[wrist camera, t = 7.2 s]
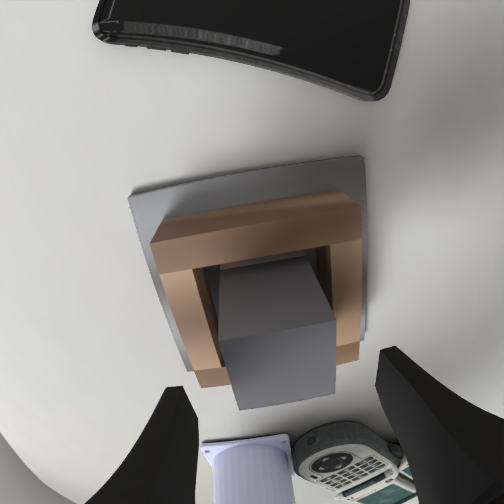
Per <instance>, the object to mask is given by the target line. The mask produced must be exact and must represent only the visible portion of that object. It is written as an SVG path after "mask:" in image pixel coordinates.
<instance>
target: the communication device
mask: <svg viewBox="0 0 504 504" xmlns="http://www.w3.org/2000/svg"><path fill="white" fill-rule="evenodd" d="M292 460H293V468H294V471H295V473H296V474H297V475H298V476H300V477H302V478H303V479H305V480H307V481H310V482H312V483H315V484H319V485H321V486H324V487H326V488H327V489H329V490H332V491H335V492H337V493H339V494H338V495H337V496H336V497H335V499H336V500H344V501H347V502H350V503H353V504H402V503H404V502H406V501H408V500H410V499H412V498H414V497H416V496H417V492H416V489H415V485H414V481H413V478H412V475H411V471H410V468H409V465H408V462H407V459H406V457H405V454H404V452H403V450H402V447H401V445H400V446H397V445H396V444H391V443H387V442H386V441H384V440H383V439H382V438H380V437H379V436H378V435H376V434H375V433H374V432H372V431H371V430H370V429H369V428H367V427H365V426H363V425H361V424H358V423H355V422H346V421H344V422H335V423H330V424H327V425H323V426H320V427H318V428H316V429H313V430H311V431H310V432H308V433H306V434H305V435H303V436H302V437H301V438H300V439H299V440H298V441H297V442H296V444H295V445H294V446H293V449H292Z"/></svg>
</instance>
